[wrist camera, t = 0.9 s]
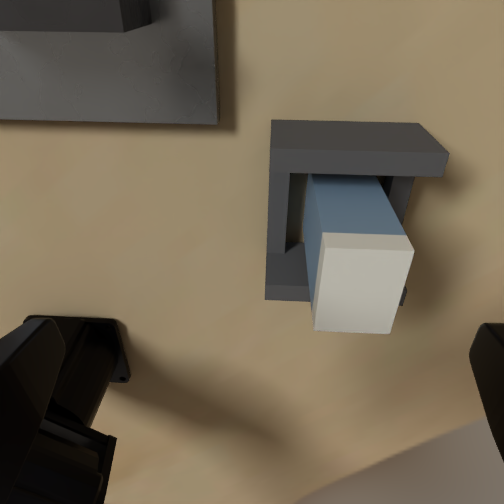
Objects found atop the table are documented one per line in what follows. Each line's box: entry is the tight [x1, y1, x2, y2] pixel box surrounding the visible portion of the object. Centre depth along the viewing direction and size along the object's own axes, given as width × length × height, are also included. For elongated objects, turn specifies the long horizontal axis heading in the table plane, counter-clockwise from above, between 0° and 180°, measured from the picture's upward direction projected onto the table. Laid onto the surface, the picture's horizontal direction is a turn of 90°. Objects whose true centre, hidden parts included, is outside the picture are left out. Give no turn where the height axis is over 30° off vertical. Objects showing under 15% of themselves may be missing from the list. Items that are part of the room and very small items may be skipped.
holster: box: [265, 120, 450, 306], centre depth 19 cm, size 8×7×4 cm
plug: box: [303, 173, 415, 334], centre depth 18 cm, size 4×3×8 cm
